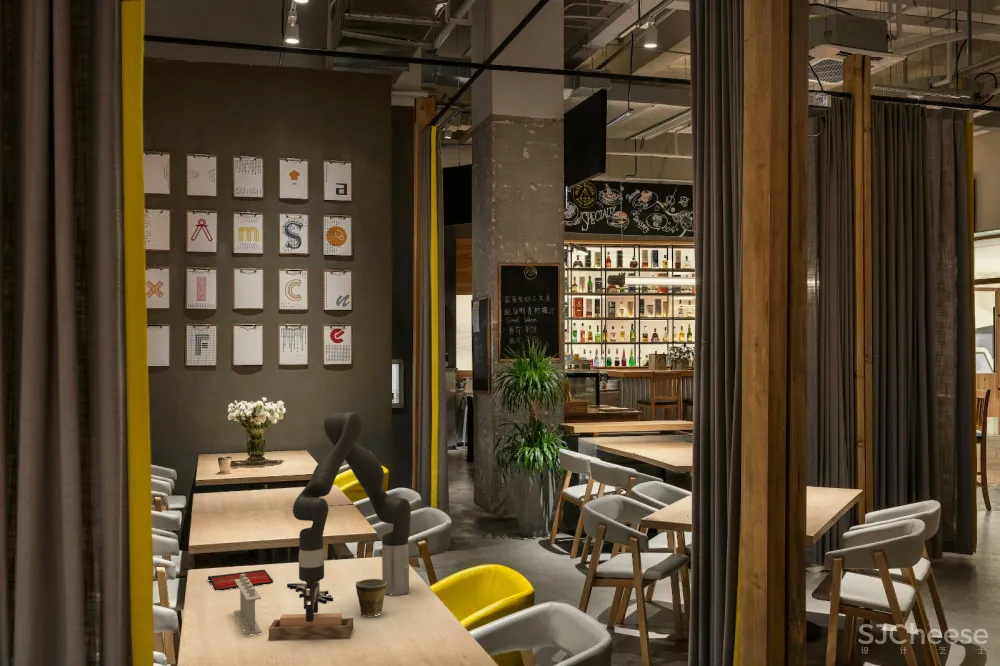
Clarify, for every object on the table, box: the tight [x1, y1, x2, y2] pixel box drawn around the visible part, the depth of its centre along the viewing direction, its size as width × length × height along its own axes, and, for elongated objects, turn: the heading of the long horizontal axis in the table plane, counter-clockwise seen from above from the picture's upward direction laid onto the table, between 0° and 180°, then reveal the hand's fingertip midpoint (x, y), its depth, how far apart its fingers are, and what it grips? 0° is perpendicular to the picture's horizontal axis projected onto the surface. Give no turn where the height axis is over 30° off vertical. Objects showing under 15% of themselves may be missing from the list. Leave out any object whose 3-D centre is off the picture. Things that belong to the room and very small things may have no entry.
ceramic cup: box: [355, 578, 387, 617], centre depth 288 cm, size 13×10×10 cm
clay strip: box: [279, 612, 343, 627], centre depth 268 cm, size 18×4×4 cm, turn 93°
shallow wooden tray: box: [268, 617, 354, 641], centre depth 268 cm, size 24×9×3 cm, turn 92°
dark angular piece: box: [286, 582, 334, 605], centre depth 310 cm, size 28×2×10 cm
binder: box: [207, 569, 274, 591], centre depth 326 cm, size 16×2×21 cm
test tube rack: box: [234, 574, 263, 636], centre depth 279 cm, size 25×4×13 cm, turn 25°
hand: (312, 616), depth 268 cm, fingers open, 7 cm apart
